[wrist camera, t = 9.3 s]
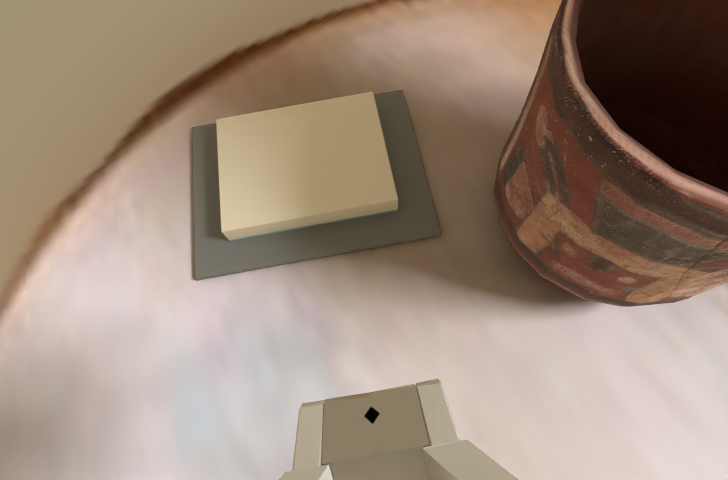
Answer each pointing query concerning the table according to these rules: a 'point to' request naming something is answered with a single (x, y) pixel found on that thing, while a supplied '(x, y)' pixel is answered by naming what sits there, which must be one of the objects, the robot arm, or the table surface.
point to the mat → (321, 240)
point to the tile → (303, 167)
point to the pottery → (624, 153)
